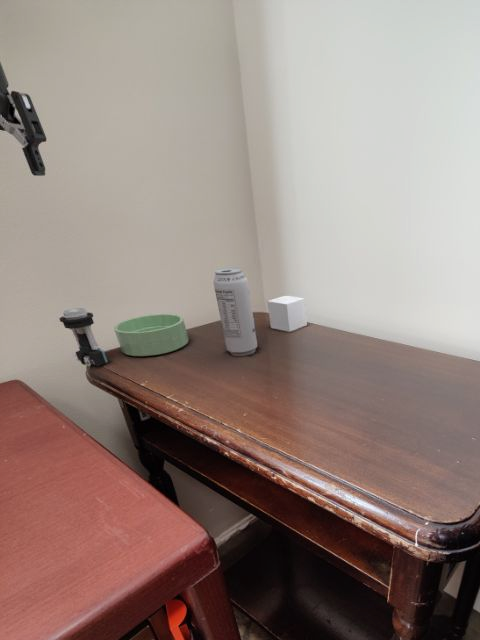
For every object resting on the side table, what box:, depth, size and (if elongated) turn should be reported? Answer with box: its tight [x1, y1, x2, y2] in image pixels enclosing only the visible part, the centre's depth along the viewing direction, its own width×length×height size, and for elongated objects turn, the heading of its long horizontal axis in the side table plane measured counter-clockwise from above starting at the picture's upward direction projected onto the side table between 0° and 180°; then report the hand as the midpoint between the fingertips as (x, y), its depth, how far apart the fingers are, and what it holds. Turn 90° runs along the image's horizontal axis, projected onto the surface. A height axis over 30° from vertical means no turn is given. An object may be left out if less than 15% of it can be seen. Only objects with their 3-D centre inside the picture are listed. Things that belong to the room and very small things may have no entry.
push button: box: [59, 307, 109, 368], centre depth 73 cm, size 7×5×10 cm
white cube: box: [267, 295, 308, 333], centre depth 90 cm, size 6×6×6 cm
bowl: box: [113, 313, 190, 357], centre depth 82 cm, size 13×13×5 cm
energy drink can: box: [212, 267, 258, 357], centre depth 74 cm, size 6×6×15 cm
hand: (17, 176), depth 67 cm, fingers open, 8 cm apart
